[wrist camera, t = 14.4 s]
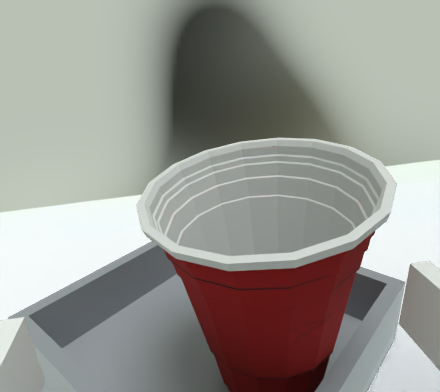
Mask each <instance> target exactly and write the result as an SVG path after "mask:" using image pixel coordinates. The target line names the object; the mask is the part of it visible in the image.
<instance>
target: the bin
mask: <svg viewBox="0 0 440 392" xmlns="http://www.w3.org/2000/svg"><path fill="white" fill-rule="evenodd" d="M404 286H405V282H404V281H401V280H398V279H395V278H392V277H389V276H386V275H383V274H380V273H377V272H374V271H371V270H368V269H366V268H363V267H360V269H359V270H358V271H357V272H356V275H355V278H354V282H353V285H352V289H351V292H350V295H349V299H348V302H347V306H346V309H345V313H344V316H343V320H342V323H341V327H340V330H339V333H338V337H337V340H336V343H335V347H334V350H333V353H332V354H331V355H330V358H329V362H328V365H327V369H326V372H325V375H324V379H323V380H322V382H321V383H320V385H319V386H318V388H317V389H316V391H315V392H367V390H368V388H369V386H370V384H371V383H372V381H373V379H374V377H375V375H376V373H377V371H378V369H379V367H380V366H381V364H382V362H383V360H384V358H385V356H386V354H387V352H388V350H389V349H390V347H391V345H392V343H393V341H394V339H395V334H396V329H397V324H398V318H399V313H400V308H401V302H402V297H403V292H404ZM21 317H25V320H26V323H27V327H28V330H29V333H30V336H31V339H32V342H33V345H34V348H35V351H36V354H37V357H38V360H39V363H40V366H41V370H42V373H43V376H44V379H45V382H44V385H43V388H42V392H230V391H229V390H228V387H227V385H226V384H225V383H224V381H223V379H222V376H221V373H220V370H219V367H218V365H217V362H216V359H215V356H214V354H213V353H212V352H211V351H210V349H209V346H208V344H207V341H206V339H205V336H204V334H203V331H202V329H201V326H200V324H199V321H198V319H197V316H196V314H195V311H194V309H193V306H192V304H191V301H190V299H189V296H188V294H187V291H186V289H185V287H184V284H183V282H182V279H181V277H179V276H178V275H177V273H176V270H175V268H174V266H173V264H172V262H171V261H170V260H169V259H168V258H167V256H166V254H165V252H164V250H163V249H162V248H161V247H160V246H158V245H157V244H156V243H154V242H153V241H152V242H150V243H148V244H146V245H144V246H142V247H140V248H138V249H136V250H135V251H133V252H131V253H129V254H127V255H125V256H123V257H121V258H120V259H118V260H116V261H114V262H112V263H110V264H108V265H106V266H104V267H103V268H101V269H99V270H97V271H95V272H93V273H91V274H89V275H88V276H86V277H84V278H82V279H80V280H78V281H76V282H74V283H72V284H71V285H69V286H67V287H65V288H63V289H61V290H59V291H57V292H55V293H54V294H52V295H50V296H48V297H46V298H44V299H42V300H40V301H39V302H37V303H35V304H33V305H31V306H29V307H27V308H25V309H23V310H22V311H20V312H18V313H16V314H14V315H12V316H10V317H8V319H14V318H21Z"/></svg>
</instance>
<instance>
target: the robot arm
mask: <svg viewBox="0 0 440 392" xmlns="http://www.w3.org/2000/svg"><path fill="white" fill-rule="evenodd" d="M399 324H400V325H401V327H402V328H403V329H404V330H405V331H406V332H407V333H408V335H409V336H410V337H411V338H412V339H413V340H414V342H415V343H416V344H417V345H418V346H419V347H420V348H421V350H422V351H423V352H424V353H425V354H426V355H427V357H428V358H429V359H430V360H431V361H432V362H433V363H434V365H435V366H436V367H437V368H438V369H439V370H440V269H439V268H438V267H437V266H436V265H434V264H433V263H432V262H431V261H425V262H418V263H411V264H410V268H409V273H408V278H407V284H406V289H405V294H404V299H403V305H402V310H401V315H400V321H399ZM44 382H45V379H44V376H43V373H42V370H41V366H40V363H39V360H38V357H37V354H36V351H35V348H34V345H33V342H32V339H31V336H30V333H29V330H28V327H27V323H26V320H25V317H21V318H14V319H6V320H0V392H41V391H42V388H43V385H44Z"/></svg>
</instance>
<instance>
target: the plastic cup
mask: <svg viewBox="0 0 440 392" xmlns="http://www.w3.org/2000/svg"><path fill="white" fill-rule="evenodd" d="M396 186H397V183H396V181H395V180H394V179H393V177H392V176H391V175H390V173H389V172H388V170H387V169H386V168H385V166H384V165H383V164H382V162H381V161H379V160H377V159H375V158H373V157H371V156H369V155H367V154H365V153H363V152H361V151H359V150H357V149H355V148H353V147H350V146H346V145H341V144H336V143H331V142H327V141H322V140H317V139H294V138H271V139H262V140H253V141H243V142H237V143H233V144H229V145H226V146H222V147H218V148H213V149H209V150H206V151H203V152H201V153H198V154H196V155H194V156H192V157H189V158H187V159H185V160H182V161H180V162H178V163H175V164H173V165H172V166H171V167H169V168H168V169H167V170H165V171H164V172H163V173H162V174H160V175H159V176H157V177H156V178H155V179H153V180H152V181H151V182H149V184H148V186H147V187H146V189H145V190H144V192H143V194H142V196H141V198H140V199H139V201H138V203H137V205H136V206H137V211H138V216H139V220H140V225H141V229H142V231H143V232H144V234H145V235H146V236H147V237H148V238H149V239H150V240H152V241H153V242H154V243H156V244H157V245H158V246H160V247H161V248H162V249H163V250H164V252H165V254H166V256H167V258H168V259H169V260H170V261H171V262H172V264H173V266H174V268H175V270H176V273H177V275H178V276H179V277H181V279H182V282H183V284H184V287H185V289H186V291H187V294H188V296H189V299H190V301H191V304H192V306H193V309H194V311H195V314H196V316H197V319H198V321H199V324H200V326H201V329H202V331H203V334H204V336H205V339H206V341H207V344H208V346H209V349H210V351H211V352H212V353H213V354H214V356H215V359H216V362H217V365H218V367H219V370H220V373H221V376H222V379H223V381H224V383H225V384H226V385H227V387H228V390H229V391H230V392H315V391H316V389H317V388H318V386H319V385H320V383H321V382H322V380H323V379H324V375H325V372H326V369H327V365H328V362H329V358H330V355H331V354H332V353H333V350H334V347H335V343H336V340H337V337H338V333H339V330H340V327H341V323H342V320H343V316H344V313H345V309H346V306H347V302H348V299H349V295H350V292H351V289H352V285H353V282H354V278H355V275H356V272H357V271H358V270H359V269H360V265H361V262H362V258H363V255H364V252H365V251H366V250H367V249H368V246H369V242H370V239H371V237H372V236H373V235H374V233H375V230H376V229H378V228H379V227H380V226H381V225H382V224H384V223H385V222H386V221H387V219H388V217H389V215H390V213H391V209H392V205H393V200H394V195H395V190H396Z"/></svg>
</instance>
